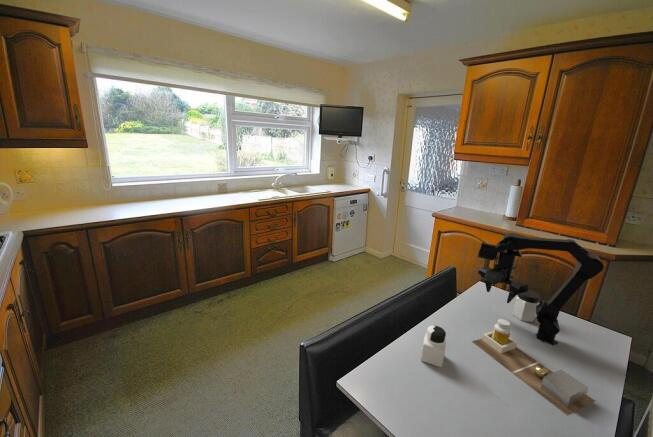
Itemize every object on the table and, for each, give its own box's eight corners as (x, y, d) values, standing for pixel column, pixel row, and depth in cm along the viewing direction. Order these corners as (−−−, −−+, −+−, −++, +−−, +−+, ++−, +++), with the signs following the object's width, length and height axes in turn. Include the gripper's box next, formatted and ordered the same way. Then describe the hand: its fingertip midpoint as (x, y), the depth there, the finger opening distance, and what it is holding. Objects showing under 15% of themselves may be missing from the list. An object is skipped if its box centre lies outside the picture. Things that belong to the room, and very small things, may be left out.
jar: (531, 325, 126) (538, 300, 123) (510, 316, 132) (516, 293, 128) (536, 317, 132) (542, 293, 129) (515, 309, 138) (521, 286, 135)
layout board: (496, 336, 118) (496, 333, 117) (593, 403, 88) (595, 400, 88) (471, 344, 112) (471, 341, 112) (566, 418, 83) (567, 415, 83)
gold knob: (537, 370, 99) (539, 363, 98) (548, 377, 96) (551, 371, 95) (531, 373, 98) (533, 366, 97) (542, 380, 95) (544, 373, 94)
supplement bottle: (509, 349, 108) (514, 327, 106) (493, 347, 109) (498, 325, 107) (503, 340, 113) (509, 318, 111) (488, 338, 114) (493, 316, 112)
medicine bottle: (443, 355, 106) (448, 326, 102) (441, 368, 99) (447, 338, 96) (422, 348, 109) (427, 320, 105) (420, 361, 102) (425, 332, 99)
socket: (496, 334, 116) (497, 329, 116) (515, 348, 109) (517, 342, 109) (481, 339, 113) (483, 334, 113) (500, 353, 106) (502, 347, 106)
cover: (557, 380, 95) (561, 369, 94) (584, 398, 88) (588, 387, 87) (540, 388, 92) (543, 376, 90) (566, 408, 85) (570, 396, 84)
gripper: (472, 257, 124) (466, 289, 128) (514, 276, 107) (505, 313, 112) (490, 254, 128) (483, 285, 133) (533, 272, 112) (524, 307, 116)
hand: (497, 297), depth 123 cm, fingers open, 9 cm apart
